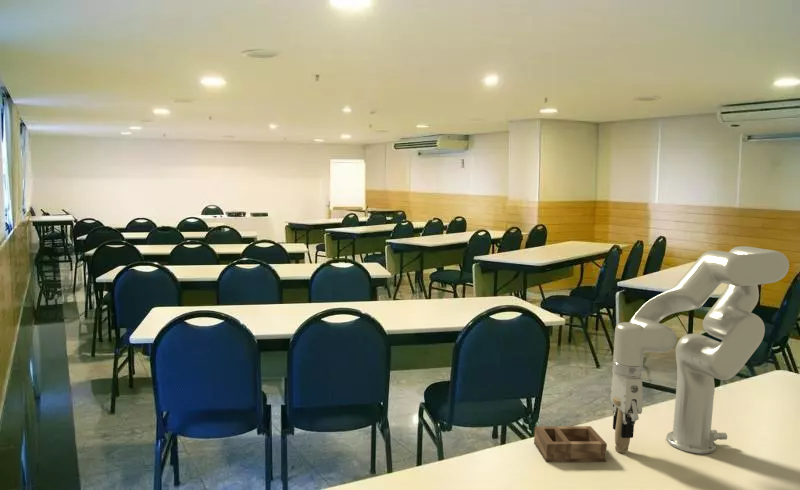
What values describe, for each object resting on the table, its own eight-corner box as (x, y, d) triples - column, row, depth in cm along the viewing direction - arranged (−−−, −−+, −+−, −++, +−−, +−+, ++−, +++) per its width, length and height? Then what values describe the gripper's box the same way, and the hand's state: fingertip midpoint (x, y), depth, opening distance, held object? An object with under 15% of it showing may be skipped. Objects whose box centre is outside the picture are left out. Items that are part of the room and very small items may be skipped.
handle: (637, 453, 161) (641, 400, 159) (617, 456, 159) (621, 403, 157) (624, 445, 166) (628, 394, 164) (606, 448, 163) (609, 396, 162)
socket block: (589, 443, 167) (590, 426, 166) (605, 461, 156) (606, 443, 155) (534, 443, 166) (534, 426, 165) (546, 462, 155) (547, 444, 154)
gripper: (656, 379, 151) (650, 447, 154) (626, 359, 168) (622, 420, 170) (627, 379, 151) (622, 447, 153) (601, 359, 168) (597, 420, 170)
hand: (622, 432), depth 162 cm, fingers open, 4 cm apart
